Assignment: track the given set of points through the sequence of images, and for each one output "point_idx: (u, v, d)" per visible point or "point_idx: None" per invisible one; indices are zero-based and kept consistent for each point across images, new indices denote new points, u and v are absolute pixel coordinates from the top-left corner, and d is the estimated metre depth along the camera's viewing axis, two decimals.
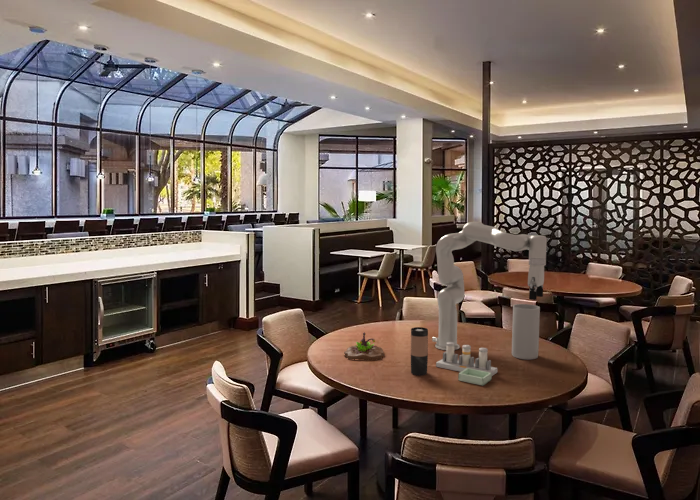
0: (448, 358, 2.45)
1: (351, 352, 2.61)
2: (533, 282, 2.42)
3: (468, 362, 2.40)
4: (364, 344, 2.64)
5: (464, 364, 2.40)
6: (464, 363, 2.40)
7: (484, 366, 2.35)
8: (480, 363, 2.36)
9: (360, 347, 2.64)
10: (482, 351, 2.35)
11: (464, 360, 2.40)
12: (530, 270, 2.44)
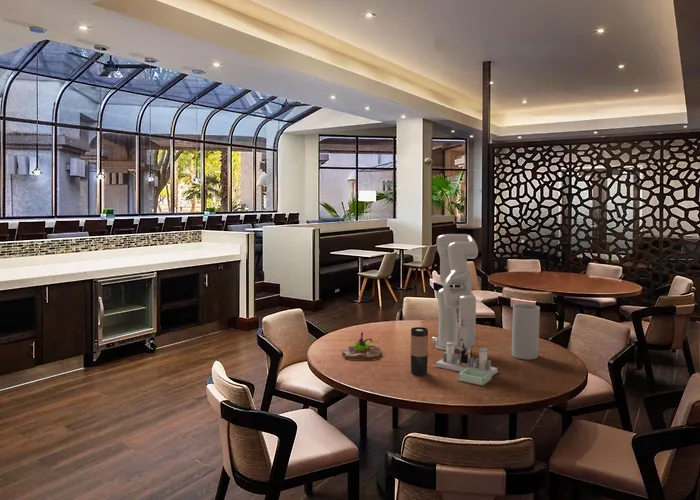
0: (448, 358, 2.45)
1: (349, 352, 2.61)
2: None
3: (468, 362, 2.40)
4: (362, 344, 2.64)
5: (464, 364, 2.40)
6: (464, 363, 2.40)
7: (484, 366, 2.35)
8: (480, 363, 2.36)
9: (358, 347, 2.64)
10: (482, 351, 2.35)
11: None
12: (459, 331, 2.37)
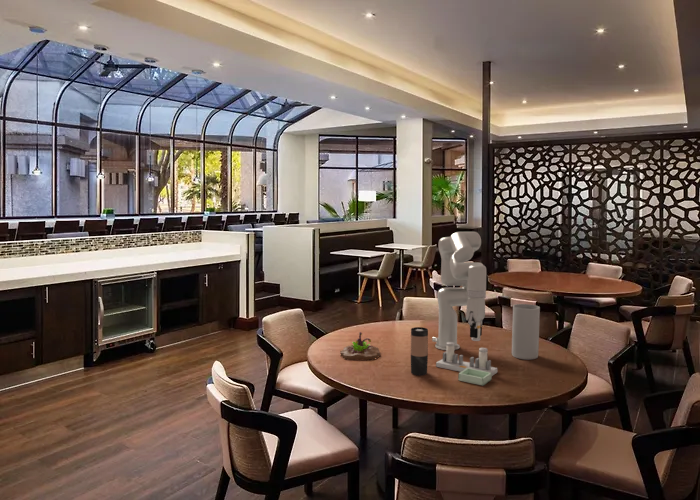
0: (448, 358, 2.45)
1: (347, 352, 2.61)
2: (472, 319, 2.21)
3: (478, 336, 2.25)
4: (360, 344, 2.64)
5: (474, 339, 2.25)
6: None
7: (484, 366, 2.35)
8: (480, 363, 2.36)
9: (356, 347, 2.64)
10: (482, 351, 2.35)
11: None
12: (468, 303, 2.22)
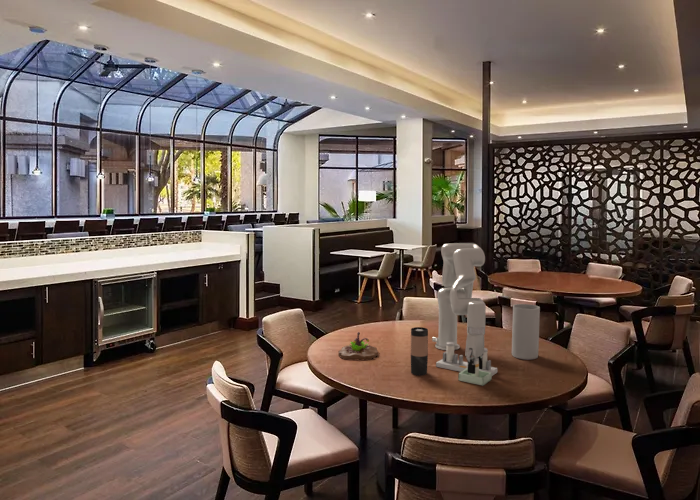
0: (448, 358, 2.45)
1: (345, 351, 2.62)
2: (471, 355, 2.22)
3: (477, 375, 2.26)
4: (358, 344, 2.64)
5: None
6: None
7: (484, 366, 2.35)
8: None
9: (354, 347, 2.65)
10: None
11: None
12: (467, 340, 2.23)
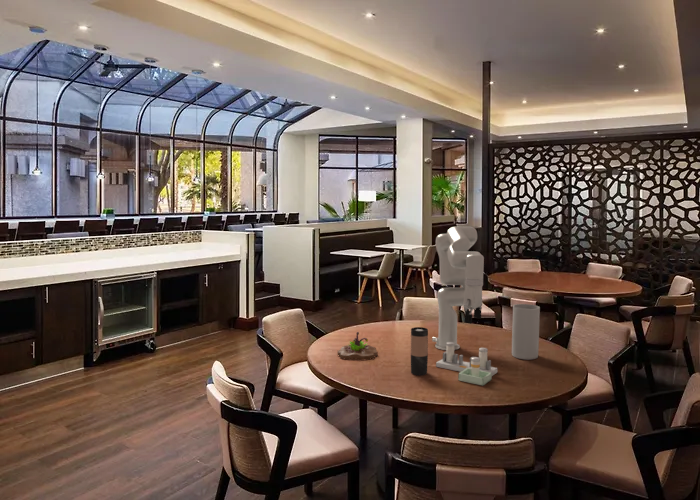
0: (448, 358, 2.45)
1: (344, 351, 2.62)
2: (468, 305, 2.26)
3: (477, 375, 2.26)
4: (357, 343, 2.65)
5: None
6: None
7: (484, 366, 2.35)
8: (480, 363, 2.36)
9: (353, 346, 2.65)
10: (482, 351, 2.35)
11: (472, 373, 2.26)
12: (466, 291, 2.28)
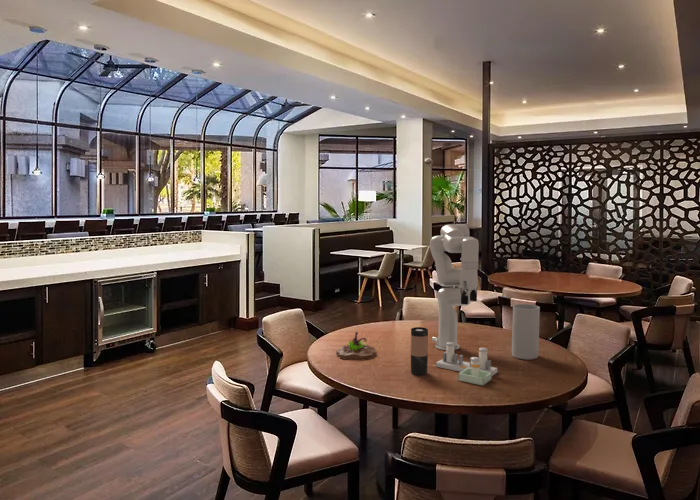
0: (448, 358, 2.45)
1: (342, 351, 2.62)
2: (464, 286, 2.37)
3: (477, 375, 2.26)
4: (356, 343, 2.65)
5: None
6: None
7: (484, 366, 2.35)
8: (480, 363, 2.36)
9: (352, 346, 2.65)
10: (482, 351, 2.35)
11: (472, 373, 2.26)
12: (462, 274, 2.39)
